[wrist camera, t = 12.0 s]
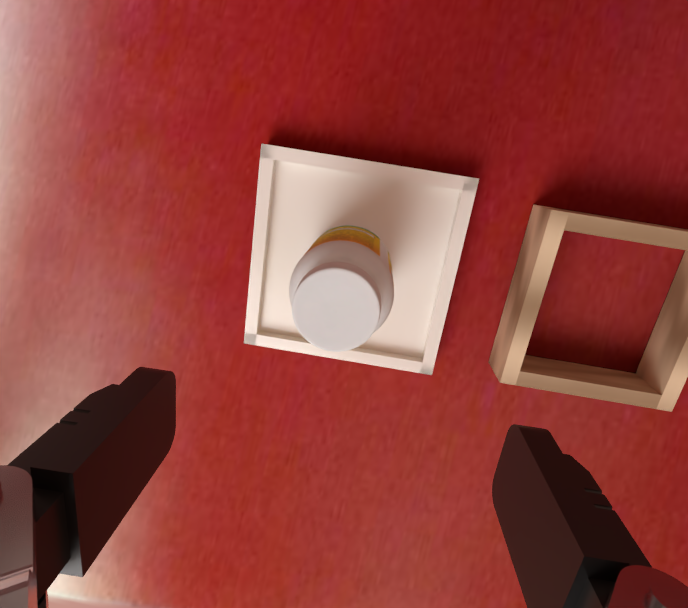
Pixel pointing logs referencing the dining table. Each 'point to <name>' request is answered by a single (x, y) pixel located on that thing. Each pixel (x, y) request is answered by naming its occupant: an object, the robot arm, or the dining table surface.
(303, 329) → the supplement bottle
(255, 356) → the dining table surface
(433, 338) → the ceramic tray
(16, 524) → the robot arm
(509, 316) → the oak holder
